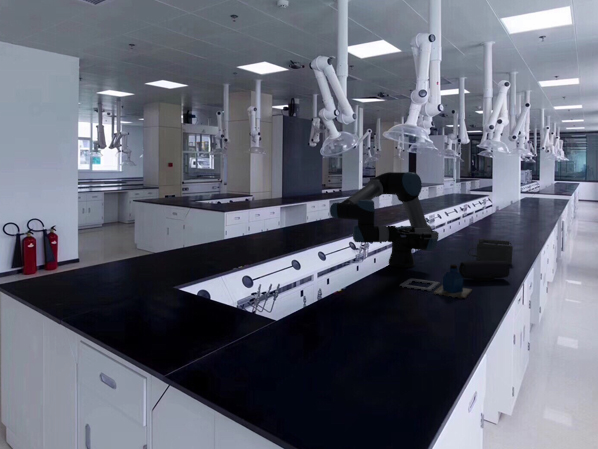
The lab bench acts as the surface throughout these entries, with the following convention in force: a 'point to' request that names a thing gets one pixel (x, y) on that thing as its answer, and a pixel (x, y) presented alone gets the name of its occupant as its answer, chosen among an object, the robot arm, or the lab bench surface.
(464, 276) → the bluetooth speaker
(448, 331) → the lab bench surface
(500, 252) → the geiger counter
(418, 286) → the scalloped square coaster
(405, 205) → the robot arm
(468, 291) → the beige square cloth
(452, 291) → the perfume bottle
